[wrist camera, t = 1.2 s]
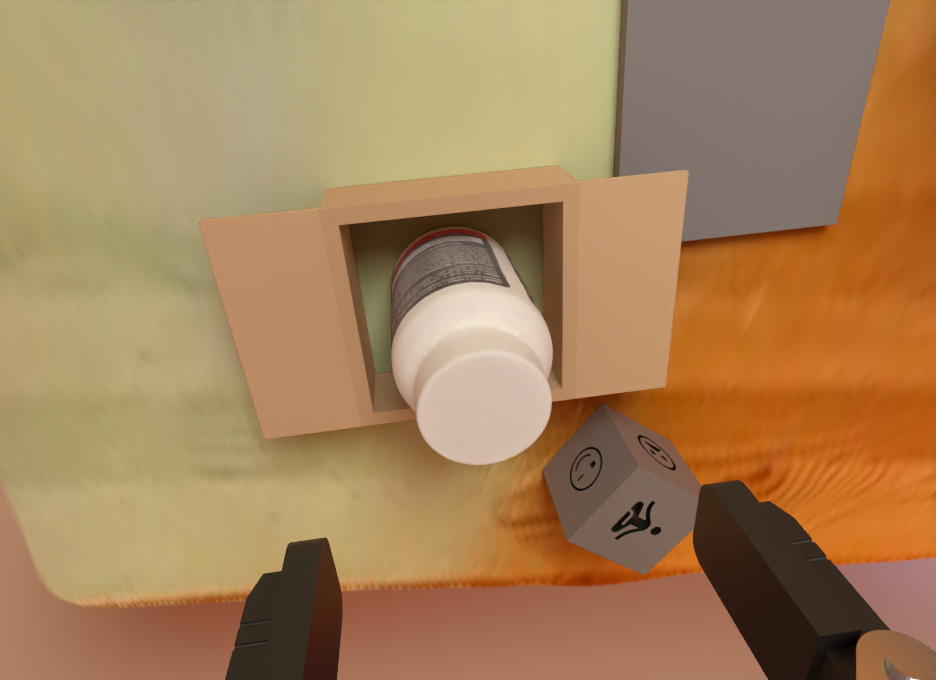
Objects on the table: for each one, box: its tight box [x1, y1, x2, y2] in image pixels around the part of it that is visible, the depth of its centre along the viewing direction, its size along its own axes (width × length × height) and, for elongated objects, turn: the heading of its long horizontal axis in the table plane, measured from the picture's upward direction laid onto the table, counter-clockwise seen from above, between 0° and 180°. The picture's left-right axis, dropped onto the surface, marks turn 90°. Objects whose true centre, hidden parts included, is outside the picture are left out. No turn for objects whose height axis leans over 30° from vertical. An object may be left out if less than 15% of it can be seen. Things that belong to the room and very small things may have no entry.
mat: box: [614, 0, 890, 242], centre depth 22 cm, size 10×10×1 cm
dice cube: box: [542, 403, 702, 575], centre depth 28 cm, size 5×5×5 cm
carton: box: [198, 166, 689, 439], centre depth 23 cm, size 9×17×3 cm, turn 94°
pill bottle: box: [391, 226, 553, 465], centre depth 20 cm, size 5×5×10 cm
